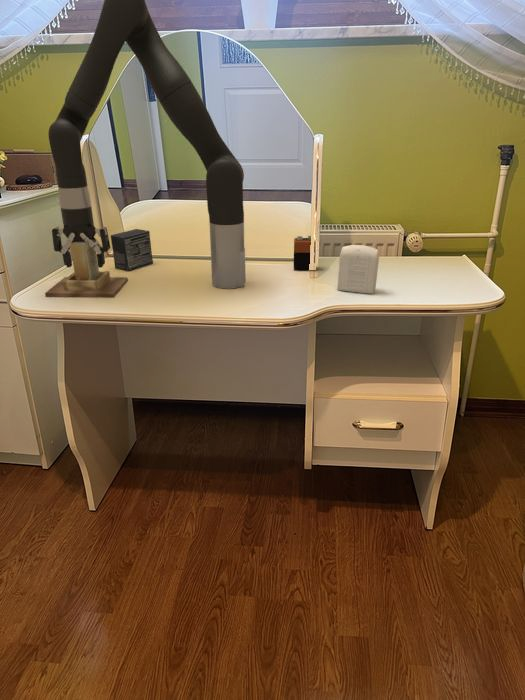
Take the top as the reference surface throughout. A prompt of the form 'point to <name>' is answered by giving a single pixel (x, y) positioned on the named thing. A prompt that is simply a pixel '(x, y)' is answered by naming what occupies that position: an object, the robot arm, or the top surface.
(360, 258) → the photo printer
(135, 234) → the small box
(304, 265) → the battery
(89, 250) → the skincare box
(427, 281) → the top surface
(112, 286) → the cosmetics stand
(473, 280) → the top surface
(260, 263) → the top surface
